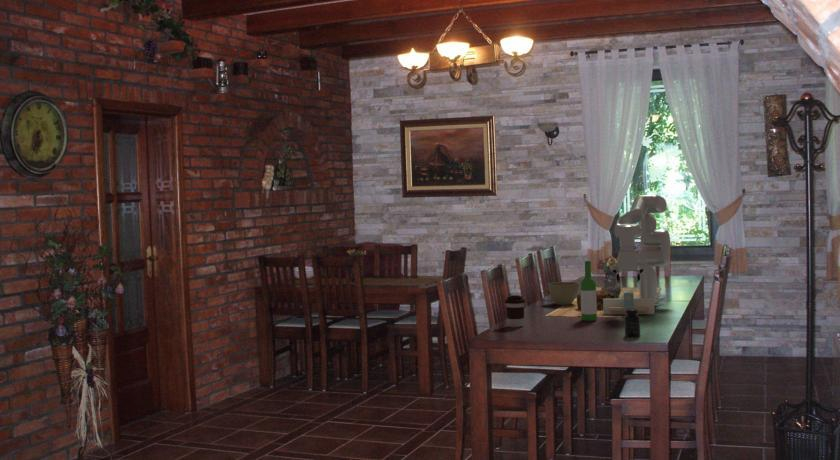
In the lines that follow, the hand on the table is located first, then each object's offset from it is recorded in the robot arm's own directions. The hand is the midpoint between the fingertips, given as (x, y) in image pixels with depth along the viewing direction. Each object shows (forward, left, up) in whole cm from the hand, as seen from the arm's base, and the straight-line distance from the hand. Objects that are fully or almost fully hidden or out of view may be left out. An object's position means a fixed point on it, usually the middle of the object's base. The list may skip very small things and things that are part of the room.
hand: (628, 281), depth 437 cm
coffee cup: (+66, +6, -18) cm, 69 cm away
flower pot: (+11, -54, -18) cm, 58 cm away
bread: (+3, -30, -18) cm, 35 cm away
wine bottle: (+26, +6, -18) cm, 32 cm away
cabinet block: (0, 0, -13) cm, 13 cm away
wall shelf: (-1, -3, -17) cm, 18 cm away
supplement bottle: (+30, +55, -18) cm, 65 cm away
